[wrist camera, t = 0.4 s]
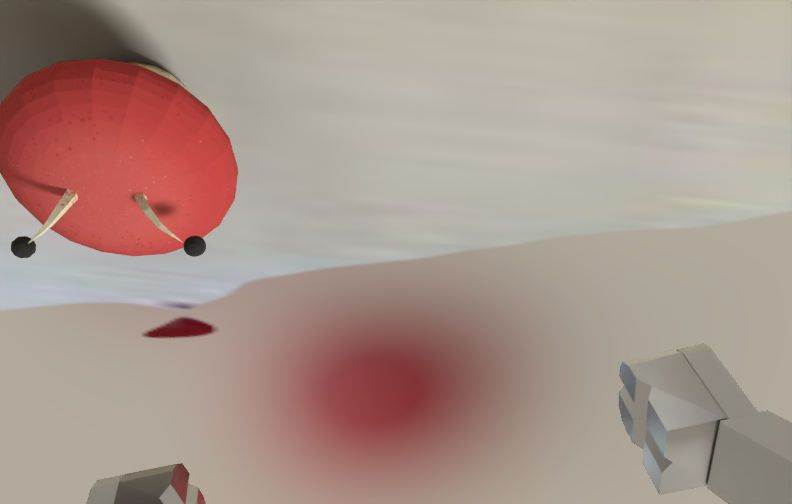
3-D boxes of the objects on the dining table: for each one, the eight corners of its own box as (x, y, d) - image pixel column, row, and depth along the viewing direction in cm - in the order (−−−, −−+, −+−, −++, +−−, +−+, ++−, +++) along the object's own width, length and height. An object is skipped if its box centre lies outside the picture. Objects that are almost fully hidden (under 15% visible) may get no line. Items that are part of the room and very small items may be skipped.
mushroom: (64, 180, 55) (-4, 318, 45) (6, -3, 44) (-103, 121, 34) (254, 189, 57) (232, 324, 46) (243, 14, 46) (212, 138, 35)
